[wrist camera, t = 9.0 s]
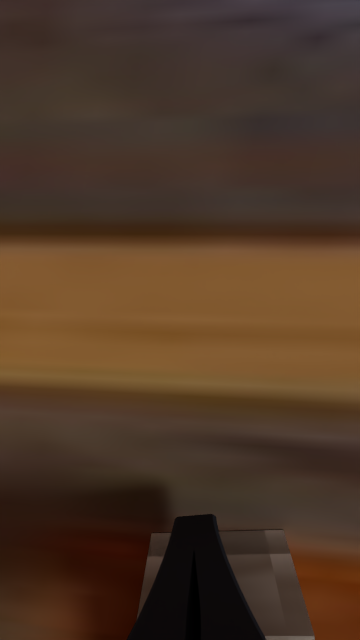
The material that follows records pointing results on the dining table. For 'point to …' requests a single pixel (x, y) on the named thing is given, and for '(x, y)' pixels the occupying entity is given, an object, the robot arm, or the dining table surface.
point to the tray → (253, 580)
